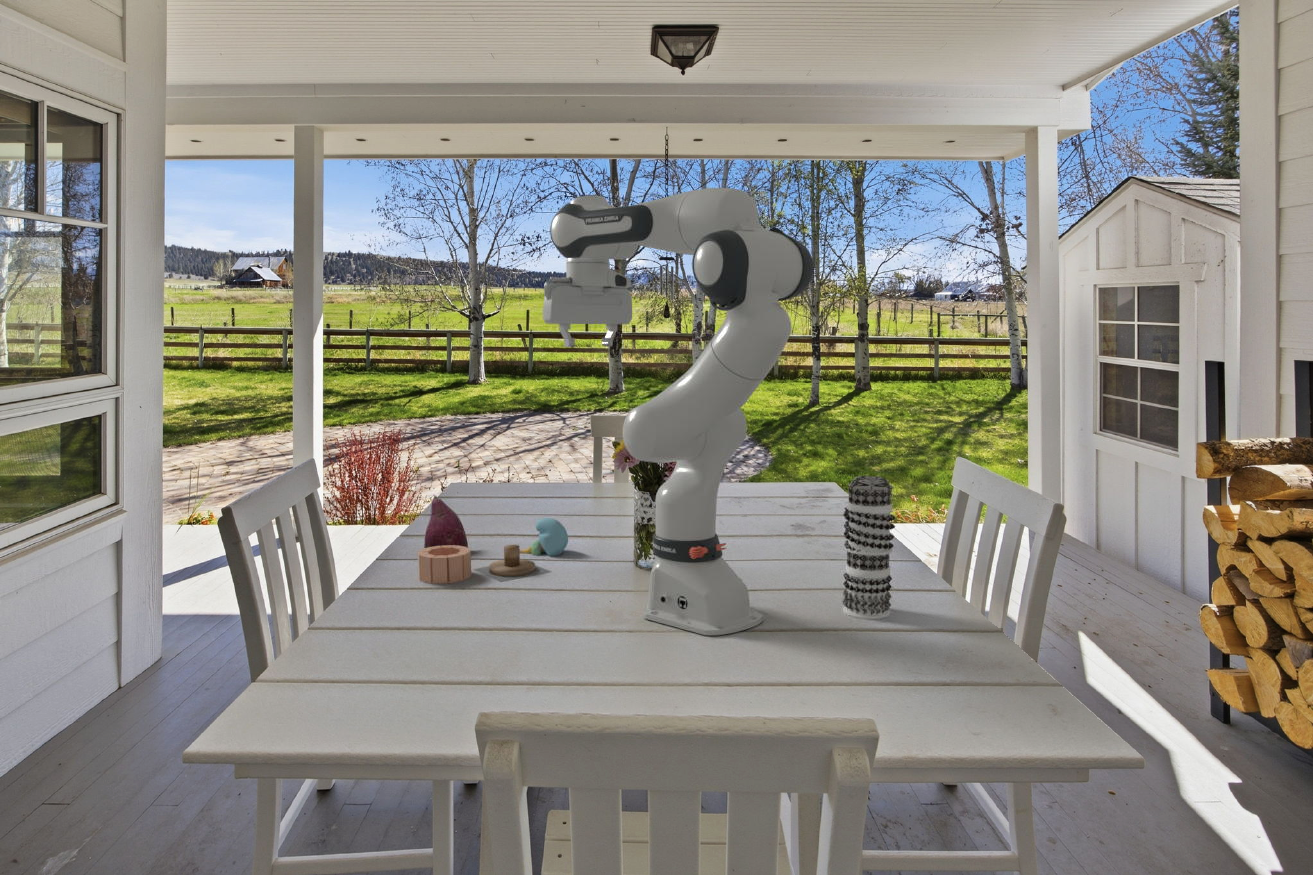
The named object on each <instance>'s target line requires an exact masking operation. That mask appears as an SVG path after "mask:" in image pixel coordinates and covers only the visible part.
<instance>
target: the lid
mask: <svg viewBox="0 0 1313 875" xmlns="http://www.w3.org/2000/svg"><path fill="white" fill-rule="evenodd" d="M519 549H520V545H519V544H507V545H504V547H503V559H502V560H497V561H494V562H491V563H490V564H489V565H488V566H489V572H490V573H491V574H492V575H496V576H503V577H514V576H523V575H527V574H530V573H533V572H534V571H535V565H536V563H535V562H534V561H532V560H528V559H523V558H522V559H520V556H521V553H520V551H519Z"/></svg>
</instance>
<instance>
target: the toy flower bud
mask: <svg viewBox="0 0 1313 875" xmlns="http://www.w3.org/2000/svg"><path fill="white" fill-rule="evenodd" d="M535 529H536V531H538V534H537V536H538V540H534V541H533V542H532V543H531V544H530V546H529V547H527V548H525V549H523V548H519V551H520V554H531V555H532V556H540V555H542V553H543V552H545V553H546V555H547V556H550V557H551V556H553V557H554V556H559V555H561V554H562V553H563V552H564V550H565V549H566V548H567V545H568V543H569V536H568V532H567V530H566V528H565V526H564V525H563V524H562V523H561V522H560V521H559V520H557V519H556V518H555V519H554V518H551V517H550V518H549V517H548V518H547V517H545V518H541V519H538V520H537V521H536V523H535Z"/></svg>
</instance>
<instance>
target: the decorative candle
mask: <svg viewBox="0 0 1313 875" xmlns="http://www.w3.org/2000/svg"><path fill="white" fill-rule="evenodd" d="M847 487H848V501H847V506H846V507H844V510H845V511H844V513H843V514H842V515H843V517H844V519H845V520H846V521H845V522H844V524H843V527H844V528H845V530H844V532H843V536H844V538H845V539H846V540H845V542H844V544H843V545H844V550H845V551H847V552H846V563H845V573H844V574H843V578H844V580H845V581H844V582H843V586H844V588H845V589H844V590H843V591H842V595H843V597H844V598H843V599H842V604H843V605H844V606H843V607H842V611H843V613H844V614H845V615H848V616H849V615H850V617H853V618H856V619H862V620H863V619H864V620H879V619H881V618H882V619H885V618H887V617H889V616H890V614H891V611H890V607H892V603H891V602H890V600H891V599H892V594H891V593H890V592H889V591H890V590H891V589H892V585H891V581H892V580H893V577H892V576H891V566H890V554H892V552H893V548H894V544H893V543H892V542H891V541H892V540H893V539H894V537H895V536H894V535H893V534H891V531H892V530H893V529H895V528H896V526H895V524H893V523H892V522H893V521H894V520H896V516H894V515H893V513H892V512H893V503H892V489H894V486H893V485H891V484H890V482H889V480H887V478H885V477H882V476H877V475H860V476H856V477H854V479H853V480H852V481H851V483H849V484H847ZM884 617H885V618H884Z"/></svg>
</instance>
